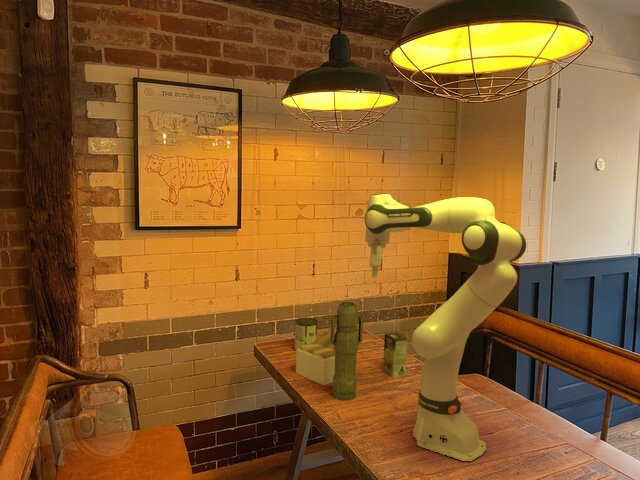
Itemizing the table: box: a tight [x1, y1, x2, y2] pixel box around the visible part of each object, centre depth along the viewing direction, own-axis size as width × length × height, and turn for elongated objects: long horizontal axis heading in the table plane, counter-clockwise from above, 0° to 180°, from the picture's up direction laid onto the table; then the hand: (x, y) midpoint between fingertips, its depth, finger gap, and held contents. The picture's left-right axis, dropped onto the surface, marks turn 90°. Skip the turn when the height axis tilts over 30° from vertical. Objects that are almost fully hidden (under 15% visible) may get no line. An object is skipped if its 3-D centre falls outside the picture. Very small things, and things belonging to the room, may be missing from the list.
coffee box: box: [382, 331, 409, 379], centre depth 204 cm, size 9×6×16 cm
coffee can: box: [294, 317, 318, 352], centre depth 228 cm, size 10×10×14 cm
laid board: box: [300, 342, 335, 359], centre depth 198 cm, size 14×8×2 cm, turn 46°
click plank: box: [315, 331, 335, 349], centre depth 203 cm, size 14×7×1 cm, turn 46°
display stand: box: [295, 349, 335, 386], centre depth 202 cm, size 16×18×10 cm
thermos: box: [330, 301, 364, 401], centre depth 180 cm, size 9×12×35 cm
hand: (375, 274), depth 181 cm, fingers open, 8 cm apart
